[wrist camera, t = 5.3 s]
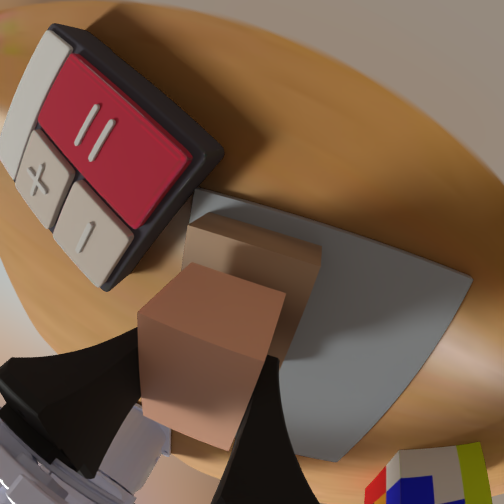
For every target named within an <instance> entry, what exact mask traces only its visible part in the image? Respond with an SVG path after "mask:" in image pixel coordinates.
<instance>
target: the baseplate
mask: <svg viewBox="0 0 504 504" xmlns="http://www.w3.org/2000/svg"><path fill="white" fill-rule="evenodd" d="M208 212H211V213H214V214H218V215H221V216H225V217H228V218H231V219H235V220H238V221H242V222H245V223H248V224H252V225H255V226H258V227H262V228H265V229H268V230H271V231H275V232H278V233H281V234H284V235H288V236H291V237H294V238H297V239H301V240H304V241H307V242H310V243H313V244H316V245H320V246H322V255H321V267H320V270H319V272H318V275H317V278H316V281H315V283H314V286H313V289H312V291H311V294H310V297H309V299H308V302H307V304H306V307H305V310H304V312H303V315H302V317H301V320H300V322H299V325H298V327H297V330H296V332H295V335H294V337H293V340H292V342H291V344H290V347H289V349H288V352H287V354H286V356H285V359H284V361H283V363H282V366H281V368H280V370H279V385H280V394H281V402H282V408H283V414H284V419H285V423H286V427H287V431H288V435H289V438H290V441H291V444H292V447H293V450H294V453H295V454H297V455H301V456H306V457H310V458H315V459H320V460H326V461H331V462H338V461H339V460H340V459H341V458H342V457H343V456H344V455H345V454H346V453H347V452H348V451H349V450H350V449H351V448H352V447H353V446H354V445H355V444H356V443H357V442H358V441H359V440H360V439H361V438H362V437H363V436H364V435H365V434H366V433H367V432H368V431H369V430H370V429H371V428H372V427H373V426H374V425H375V424H376V422H377V421H378V420H379V419H380V418H381V417H382V416H383V415H384V413H385V412H386V411H387V410H388V409H389V408H390V407H391V405H392V404H393V403H394V402H395V401H396V399H397V398H398V397H399V396H400V394H401V393H402V392H403V391H404V389H405V388H406V387H407V386H408V384H409V383H410V382H411V380H412V379H413V378H414V376H415V375H416V374H417V372H418V371H419V369H420V368H421V367H422V365H423V364H424V362H425V361H426V360H427V358H428V357H429V355H430V354H431V352H432V351H433V349H434V348H435V346H436V345H437V343H438V342H439V340H440V338H441V337H442V335H443V334H444V332H445V330H446V329H447V327H448V326H449V324H450V322H451V320H452V319H453V317H454V315H455V314H456V312H457V310H458V308H459V306H460V305H461V303H462V301H463V299H464V297H465V295H466V293H467V291H468V289H469V287H470V285H471V283H472V281H473V279H472V277H471V276H469V275H467V274H464V273H462V272H459V271H457V270H454V269H452V268H449V267H446V266H444V265H441V264H439V263H436V262H433V261H431V260H428V259H425V258H423V257H420V256H417V255H415V254H412V253H409V252H406V251H404V250H401V249H398V248H395V247H392V246H390V245H387V244H384V243H381V242H378V241H375V240H372V239H369V238H366V237H364V236H361V235H358V234H355V233H352V232H349V231H346V230H342V229H339V228H336V227H333V226H330V225H327V224H324V223H321V222H318V221H314V220H311V219H308V218H305V217H302V216H298V215H295V214H292V213H288V212H285V211H282V210H278V209H275V208H272V207H268V206H265V205H261V204H258V203H254V202H251V201H247V200H244V199H240V198H236V197H233V196H229V195H225V194H222V193H218V192H214V191H211V190H207V189H203V188H199V187H198V188H196V189H195V190H194V196H193V202H192V208H191V214H190V221H189V224H190V223H192V222H193V221H195V220H196V219H198V218H200V217H201V216H203V215H205V214H206V213H208ZM237 431H238V430H237ZM236 435H237V433H236ZM236 435H235V437H236Z"/></svg>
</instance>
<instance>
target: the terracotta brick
mask: <svg viewBox="0 0 504 504" xmlns="http://www.w3.org/2000/svg"><path fill="white" fill-rule="evenodd" d="M285 296H286V293H284V292H281V291H278V290H274V289H271V288H268V287H265V286H262V285H259V284H256V283H253V282H250V281H247V280H244V279H241V278H238V277H235V276H232V275H229V274H226V273H223V272H220V271H217V270H214V269H211V268H208V267H205V266H202V265H199V264H196V263H194V262H191V263H190V264H189V265H188V266H187V267H186V268H184V269H183V270H182V271H181V272H180V273H179V274H178V275H177V276H176V277H175V278H174V279H172V280H171V281H170V282H169V283H168V284H167V285H166V286H165V287H164V288H163V289H162V290H161V291H159V292H158V293H157V294H156V295H155V296H154V297H153V298H152V299H151V300H150V301H149V302H148V303H147V304H146V305H145V306H143V307H142V308H141V309H140V310H139V311H138V312H137V320H138V356H139V374H140V388H141V400H142V410H143V416H145V417H147V418H149V419H151V420H153V421H156V422H158V423H160V424H162V425H164V426H166V427H168V428H171V429H173V430H175V431H177V432H180V433H182V434H184V435H187V436H189V437H192V438H194V439H196V440H199V441H202V442H204V443H207V444H209V445H212V446H215V447H218V448H220V449H223V450H226V451H229V449H230V447H231V444H232V442H233V440H234V437H235V435H236V433H237V430H238V428H239V425H240V423H241V420H242V418H243V416H244V413H245V411H246V408H247V406H248V403H249V401H250V398H251V396H252V393H253V391H254V388H255V385H256V383H257V380H258V378H259V375H260V372H261V370H262V367H263V364H264V362H265V359H266V356H267V353H268V350H269V347H270V344H271V340H272V337H273V334H274V331H275V328H276V325H277V322H278V318H279V315H280V312H281V309H282V306H283V302H284V299H285Z"/></svg>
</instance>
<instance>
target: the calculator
mask: <svg viewBox="0 0 504 504" xmlns="http://www.w3.org/2000/svg"><path fill="white" fill-rule="evenodd" d="M223 157H224V149H223V147H222V146H221V145H220V144H219V143H218V142H217V141H216V140H215V139H214V138H213V137H212V136H211V135H210V134H208V133H207V132H206V131H205V130H204V129H203V128H202V127H201V126H200V125H199V124H198V123H197V122H195V121H194V120H193V119H192V118H191V117H190V116H189V115H188V114H187V113H185V112H184V111H183V110H182V109H181V108H180V107H179V106H178V105H176V104H175V103H174V102H173V101H172V100H171V99H169V98H168V97H167V96H166V95H165V94H164V93H162V92H161V91H160V90H159V89H158V88H156V87H155V86H154V85H153V84H152V83H150V82H149V81H148V80H147V79H146V78H144V77H143V76H142V75H141V74H139V73H138V72H137V71H136V70H134V69H133V68H132V67H131V66H129V65H128V64H127V63H126V62H124V61H123V60H122V59H121V58H119V57H118V56H117V55H115V54H114V53H113V52H112V50H111V49H110V48H109V47H107V46H106V45H105V44H104V43H102V42H101V41H100V40H98V39H97V38H96V37H95V36H93V35H92V34H91V33H89V32H88V31H86V30H82V29H79V28H74V27H70V26H66V25H61V24H56V23H54V24H52V25H51V26H50V27H49V28H48V30H47V31H46V32H45V34H44V35H43V37H42V39H41V40H40V42H39V44H38V46H37V48H36V50H35V52H34V54H33V56H32V57H31V59H30V62H29V64H28V66H27V68H26V70H25V72H24V74H23V76H22V79H21V81H20V83H19V86H18V88H17V90H16V93H15V95H14V98H13V100H12V103H11V106H10V109H9V111H8V114H7V117H6V120H5V123H4V126H3V129H2V132H1V136H0V160H1V162H2V163H3V165H4V167H5V168H6V170H7V171H8V173H9V174H10V176H11V178H12V179H13V180H14V182H15V186H16V188H17V190H18V191H19V193H20V194H21V196H22V197H23V199H24V200H25V201H26V203H27V204H28V206H29V207H30V208H31V210H32V211H33V212H34V214H35V215H36V216H37V218H38V219H39V220H40V222H41V223H42V224H43V226H44V227H45V228H46V229H49V230H50V231H51V232H52V233H53V238H54V239H55V241H56V242H57V243H58V244H59V246H60V247H61V248H62V249H63V250H64V252H65V253H66V254H67V255H68V256H69V257H70V259H71V260H72V261H73V262H74V263H75V264H76V265H77V267H78V268H79V269H80V270H81V271H82V272H83V273H84V274H85V275H86V277H87V278H88V279H89V280H90V281H91V282H92V283H93V284H94V285H95V286H96V287H98V288H99V287H100V288H101V289H102V290H103V291H105V292H108V291H110V290H111V289H112V288H114V287H115V286H116V285H117V284H118V283H119V282H121V281H122V280H123V279H124V278H125V277H126V276H128V275H129V274H130V273H131V272H132V270H133V269H134V267H135V266H136V265H137V263H138V262H139V261H140V259H141V258H142V257H143V255H144V254H145V253H146V251H147V250H148V249H149V247H150V246H151V245H152V243H153V242H154V241H155V239H156V238H157V237H158V236H159V234H160V233H161V232H162V230H163V229H164V228H165V227H166V225H167V224H168V223H169V221H170V220H171V219H172V218H173V216H174V215H175V214H176V213H177V211H178V210H179V209H180V208H181V207H182V205H183V204H184V203H185V202H186V200H187V199H188V198H189V197H190V196H191V194H192V193H193V192H194V190H195V189H196V188H197V187H198V186H199V185H200V184H201V183H202V181H203V180H204V179H205V178H206V177H207V176H208V174H209V173H210V172H211V171H212V170H213V169H214V168H215V166H216V165H217V164H218V163H219V162H220V161H221V160H222V158H223Z"/></svg>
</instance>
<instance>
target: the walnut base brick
mask: <svg viewBox="0 0 504 504" xmlns="http://www.w3.org/2000/svg"><path fill="white" fill-rule="evenodd" d="M321 255H322V246H320V245H316V244H313V243H310V242H307V241H304V240H301V239H297V238H294V237H291V236H288V235H284V234H281V233H278V232H275V231H271V230H268V229H265V228H262V227H258V226H255V225H252V224H248V223H245V222H242V221H238V220H235V219H231V218H228V217H225V216H221V215H218V214H214V213H211V212H208V213H206V214H205V215H203V216H201V217H200V218H198V219H196V220H195V221H193V222H192V223H190V224H188V225H187V232H186V239H185V246H184V253H183V261H182V269H181V271H182V270H183V269H184V268H186V267H187V266H188V265H189V264H190V263H191V262H194V263H196V264H199V265H202V266H205V267H208V268H211V269H214V270H217V271H220V272H223V273H226V274H229V275H232V276H235V277H238V278H241V279H244V280H247V281H250V282H253V283H256V284H259V285H262V286H265V287H268V288H271V289H274V290H278V291H281V292H284V293H286V296H285V299H284V302H283V306H282V309H281V312H280V315H279V318H278V322H277V325H276V328H275V331H274V334H273V337H272V340H271V344H270V347H269V350H268V353H267V355H270V356H273V357H277V358H278V359H279V360H280V362H279V370H280V368H281V366H282V363H283V361H284V359H285V356H286V354H287V352H288V349H289V347H290V344H291V342H292V340H293V337H294V335H295V332H296V330H297V327H298V325H299V322H300V320H301V317H302V315H303V312H304V310H305V307H306V304H307V302H308V299H309V297H310V294H311V291H312V289H313V286H314V283H315V281H316V278H317V275H318V272H319V270H320V267H321Z"/></svg>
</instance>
